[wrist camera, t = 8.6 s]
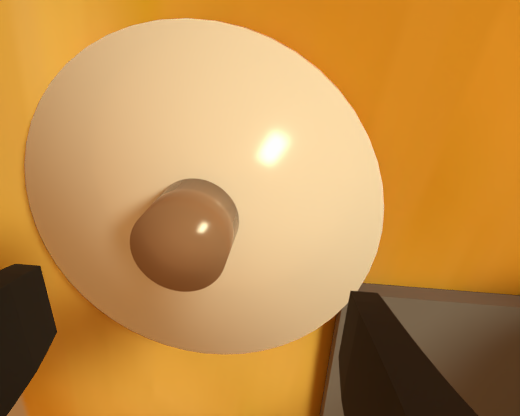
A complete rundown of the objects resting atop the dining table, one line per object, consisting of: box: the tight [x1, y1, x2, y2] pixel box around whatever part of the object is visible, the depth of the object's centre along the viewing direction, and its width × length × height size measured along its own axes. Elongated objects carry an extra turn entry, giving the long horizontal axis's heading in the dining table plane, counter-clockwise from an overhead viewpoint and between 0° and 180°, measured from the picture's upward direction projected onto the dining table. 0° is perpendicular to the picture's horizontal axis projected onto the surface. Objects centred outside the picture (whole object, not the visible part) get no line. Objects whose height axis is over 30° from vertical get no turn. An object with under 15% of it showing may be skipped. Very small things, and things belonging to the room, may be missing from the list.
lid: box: [25, 18, 384, 354], centre depth 18 cm, size 17×17×4 cm
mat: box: [320, 283, 520, 416], centre depth 24 cm, size 15×15×1 cm
